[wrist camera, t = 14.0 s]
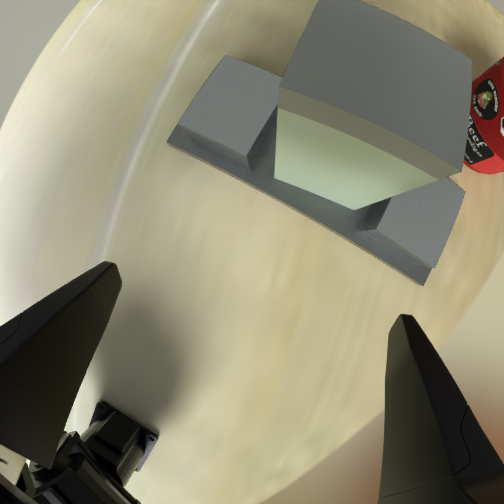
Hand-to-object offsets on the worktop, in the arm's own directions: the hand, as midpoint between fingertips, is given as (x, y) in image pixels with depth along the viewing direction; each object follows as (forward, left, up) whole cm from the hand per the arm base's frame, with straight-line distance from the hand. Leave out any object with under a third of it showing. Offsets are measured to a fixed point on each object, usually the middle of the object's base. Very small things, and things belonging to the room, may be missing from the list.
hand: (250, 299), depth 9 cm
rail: (+9, -1, -13) cm, 16 cm away
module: (+9, -1, -12) cm, 15 cm away
